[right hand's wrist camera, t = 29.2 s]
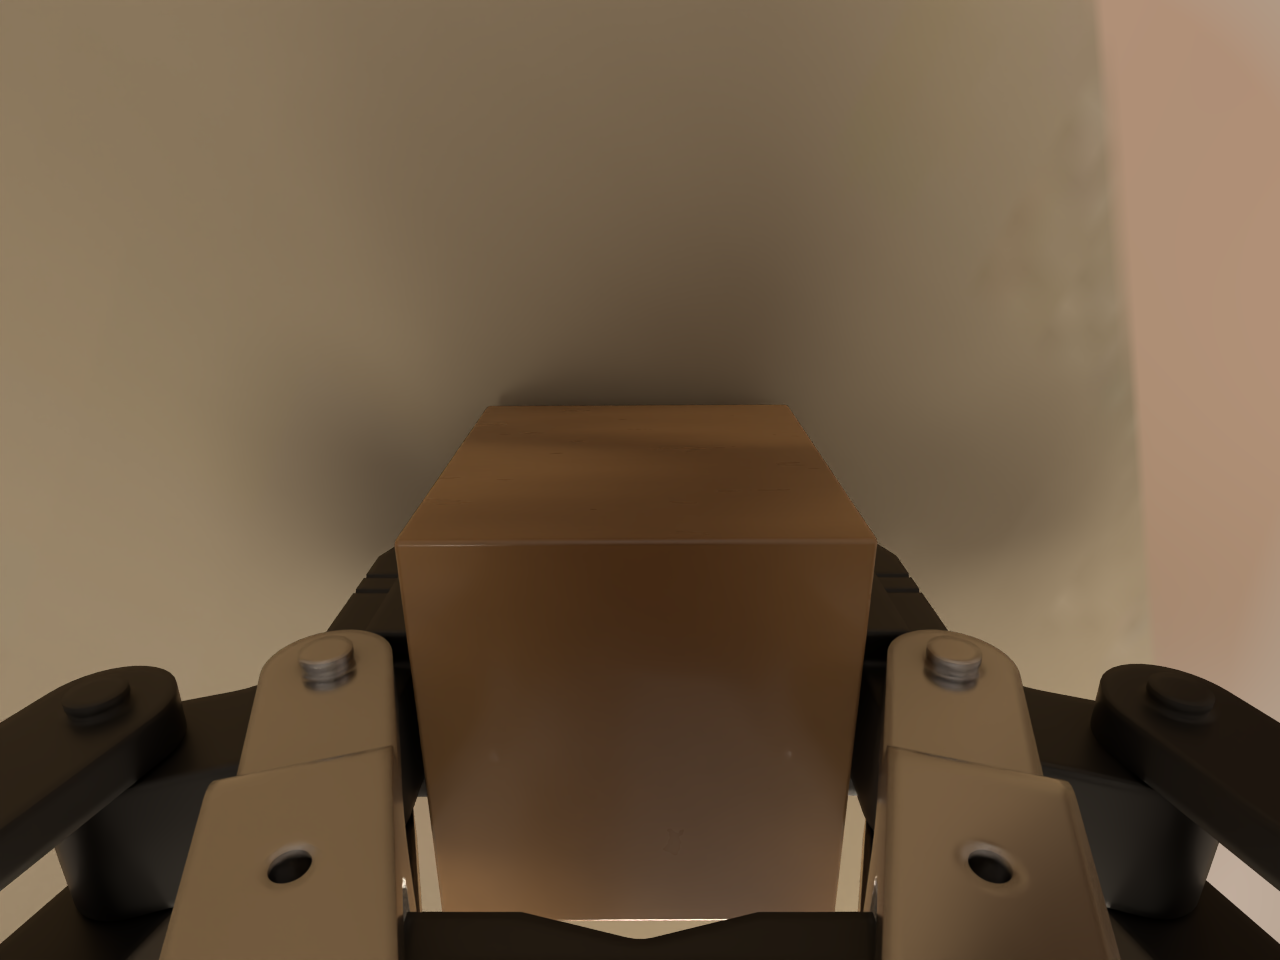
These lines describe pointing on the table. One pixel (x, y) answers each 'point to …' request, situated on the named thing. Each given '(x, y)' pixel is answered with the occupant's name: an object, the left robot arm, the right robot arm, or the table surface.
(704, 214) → the table surface
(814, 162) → the table surface
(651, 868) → the block
